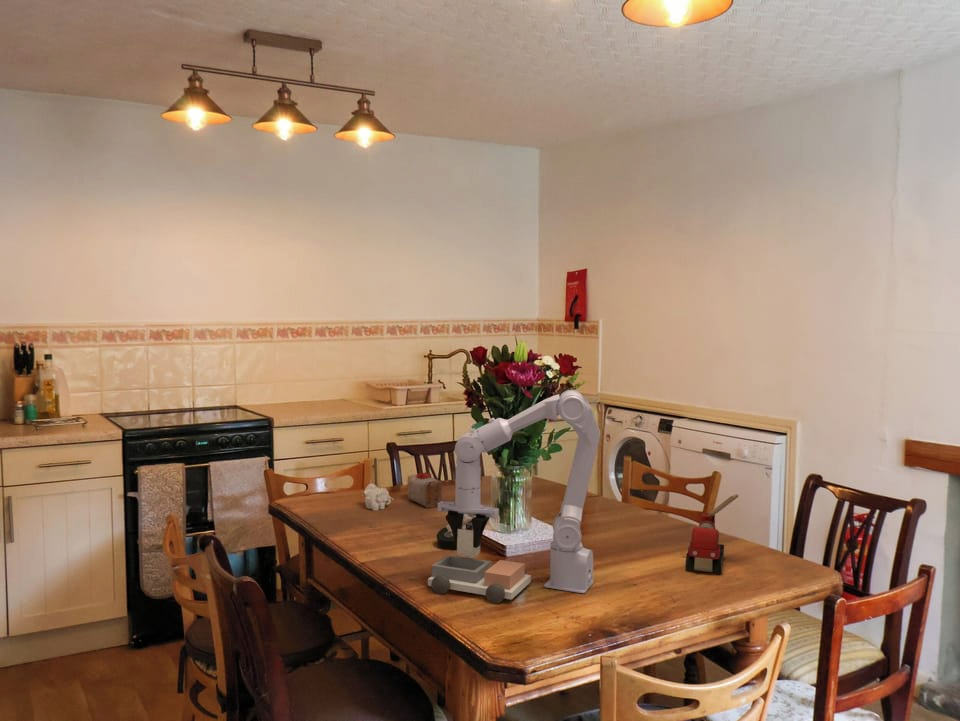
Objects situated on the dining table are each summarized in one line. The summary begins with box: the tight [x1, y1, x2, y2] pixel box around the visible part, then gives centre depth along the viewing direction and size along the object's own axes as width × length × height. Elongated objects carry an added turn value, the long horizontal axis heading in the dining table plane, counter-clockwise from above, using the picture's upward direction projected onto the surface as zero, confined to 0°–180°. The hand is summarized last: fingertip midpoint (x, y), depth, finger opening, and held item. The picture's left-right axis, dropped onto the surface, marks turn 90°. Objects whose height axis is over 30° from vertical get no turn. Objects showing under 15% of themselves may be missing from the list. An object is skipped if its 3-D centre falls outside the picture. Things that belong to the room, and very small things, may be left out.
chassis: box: [427, 554, 532, 605], centre depth 182 cm, size 20×14×6 cm
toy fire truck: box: [685, 493, 739, 575], centre depth 199 cm, size 11×16×18 cm
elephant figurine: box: [364, 483, 395, 512], centre depth 250 cm, size 8×10×7 cm
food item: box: [406, 471, 443, 509], centre depth 257 cm, size 14×8×10 cm, turn 33°
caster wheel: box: [436, 514, 475, 551], centre depth 215 cm, size 7×12×10 cm
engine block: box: [456, 524, 481, 558], centre depth 187 cm, size 4×4×7 cm
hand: (467, 545), depth 186 cm, fingers closed on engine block, 4 cm apart
